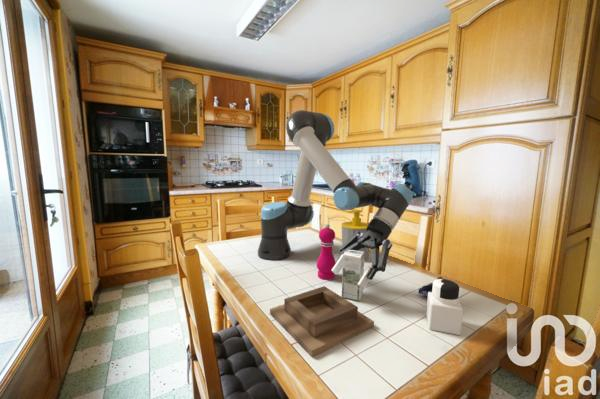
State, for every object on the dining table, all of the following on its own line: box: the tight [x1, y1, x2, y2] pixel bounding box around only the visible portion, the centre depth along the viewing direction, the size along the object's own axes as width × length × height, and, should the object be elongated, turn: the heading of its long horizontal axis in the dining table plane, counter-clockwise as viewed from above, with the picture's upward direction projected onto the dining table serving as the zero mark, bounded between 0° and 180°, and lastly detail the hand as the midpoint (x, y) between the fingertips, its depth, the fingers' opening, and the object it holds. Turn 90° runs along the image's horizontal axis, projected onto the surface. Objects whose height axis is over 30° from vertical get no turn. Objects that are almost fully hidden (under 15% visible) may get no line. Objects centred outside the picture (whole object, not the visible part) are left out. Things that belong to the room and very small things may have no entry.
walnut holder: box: [269, 285, 375, 358], centre depth 73 cm, size 20×20×5 cm
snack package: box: [418, 276, 443, 298], centre depth 85 cm, size 12×6×12 cm
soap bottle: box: [341, 209, 370, 261], centre depth 120 cm, size 13×13×21 cm
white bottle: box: [425, 278, 464, 336], centre depth 70 cm, size 7×7×12 cm
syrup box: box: [341, 249, 365, 302], centre depth 85 cm, size 6×6×14 cm
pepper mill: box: [316, 223, 337, 281], centre depth 99 cm, size 7×7×20 cm
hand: (346, 279), depth 84 cm, fingers open, 11 cm apart
